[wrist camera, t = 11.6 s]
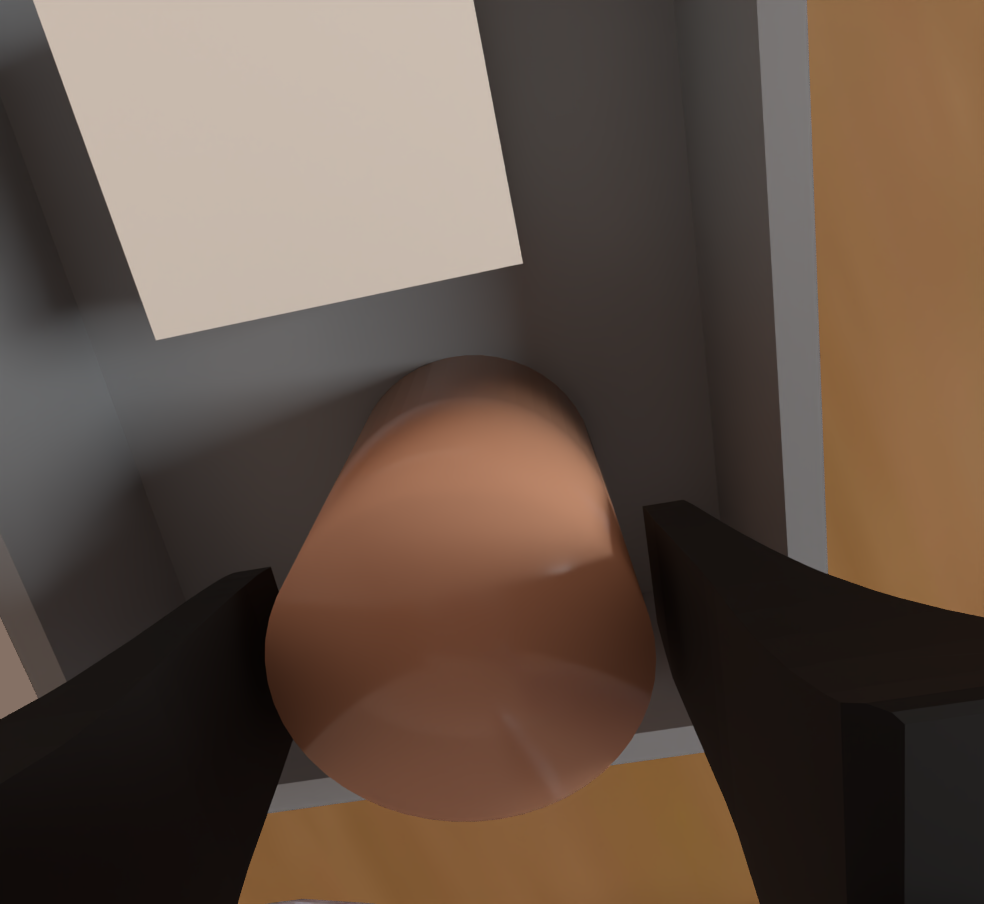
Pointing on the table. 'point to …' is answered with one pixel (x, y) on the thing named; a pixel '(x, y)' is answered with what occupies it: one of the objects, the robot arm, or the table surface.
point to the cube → (286, 148)
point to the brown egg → (464, 604)
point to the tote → (427, 333)
